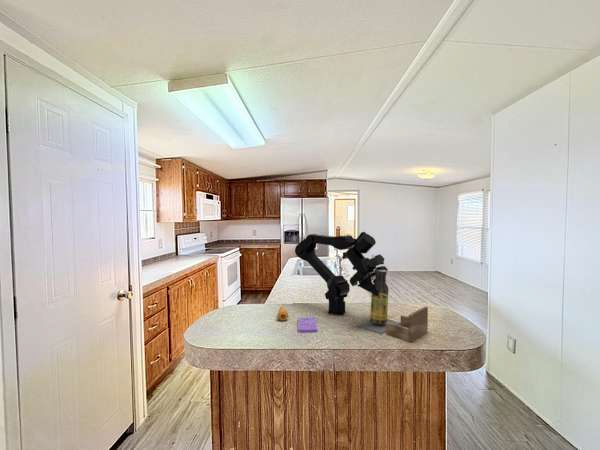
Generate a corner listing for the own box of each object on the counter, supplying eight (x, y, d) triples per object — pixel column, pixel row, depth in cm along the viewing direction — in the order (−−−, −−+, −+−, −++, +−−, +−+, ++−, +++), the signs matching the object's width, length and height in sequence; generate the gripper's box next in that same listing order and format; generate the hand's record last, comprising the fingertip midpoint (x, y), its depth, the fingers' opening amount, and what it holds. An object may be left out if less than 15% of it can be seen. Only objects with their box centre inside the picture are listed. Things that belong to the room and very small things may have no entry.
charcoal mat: (357, 326, 113) (357, 325, 113) (378, 317, 123) (378, 316, 123) (381, 334, 106) (381, 333, 106) (401, 323, 116) (401, 322, 116)
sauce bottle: (369, 323, 113) (369, 271, 112) (371, 318, 119) (372, 268, 118) (387, 326, 111) (387, 272, 110) (388, 320, 116) (389, 269, 115)
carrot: (286, 323, 119) (290, 313, 120) (275, 319, 119) (279, 308, 119) (284, 312, 139) (288, 303, 140) (275, 308, 139) (279, 299, 139)
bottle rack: (385, 334, 106) (385, 309, 106) (402, 325, 115) (402, 301, 114) (411, 342, 99) (411, 315, 99) (427, 332, 108) (427, 307, 107)
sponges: (315, 321, 121) (315, 316, 121) (317, 334, 108) (317, 328, 108) (297, 321, 121) (297, 317, 121) (298, 334, 108) (298, 329, 108)
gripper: (356, 250, 110) (383, 285, 102) (383, 246, 123) (409, 277, 115) (339, 268, 116) (363, 303, 109) (367, 262, 129) (390, 293, 121)
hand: (382, 293), depth 113 cm, fingers closed on sauce bottle, 6 cm apart
